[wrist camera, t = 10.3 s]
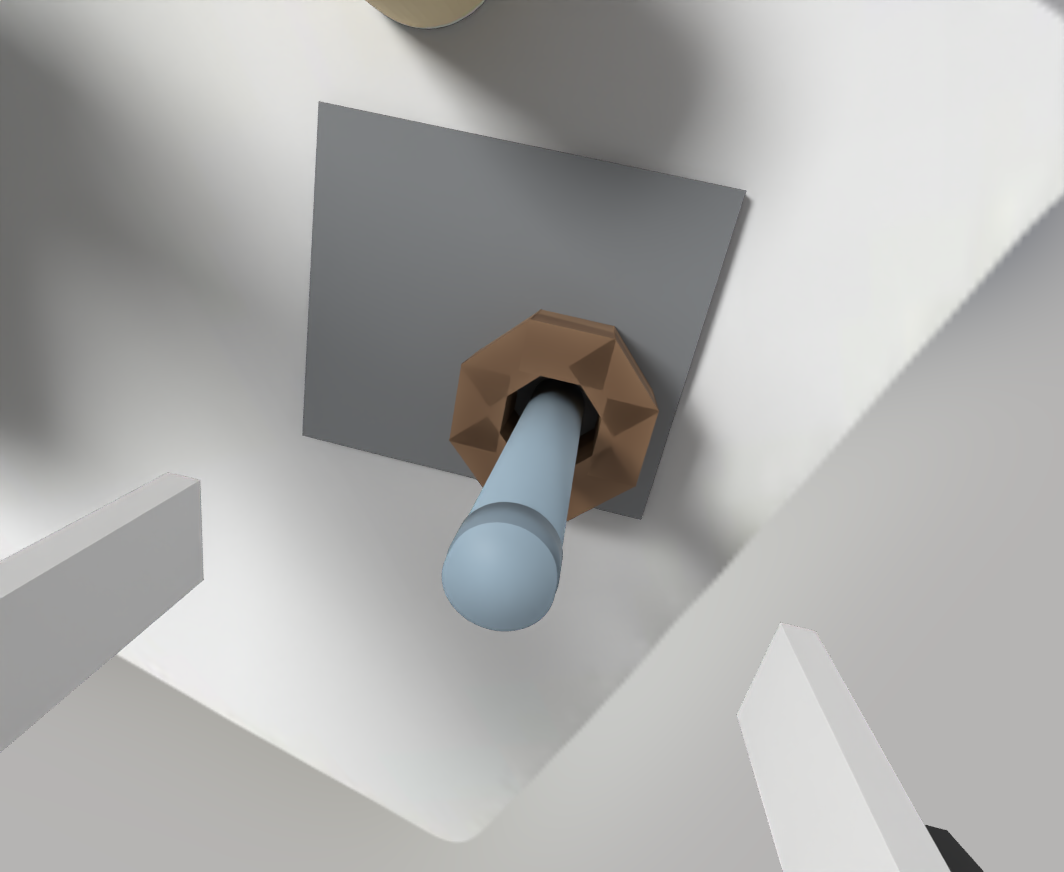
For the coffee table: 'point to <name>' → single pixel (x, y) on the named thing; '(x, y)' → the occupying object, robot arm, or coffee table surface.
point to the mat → (490, 275)
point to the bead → (571, 357)
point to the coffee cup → (426, 11)
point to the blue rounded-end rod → (519, 518)
